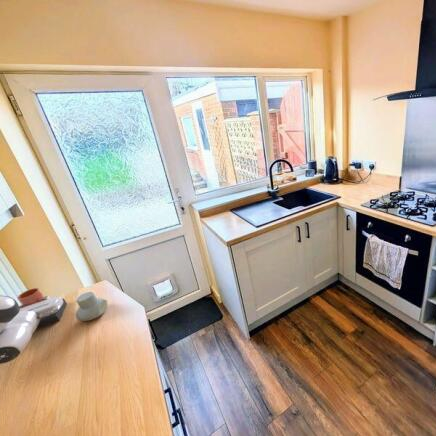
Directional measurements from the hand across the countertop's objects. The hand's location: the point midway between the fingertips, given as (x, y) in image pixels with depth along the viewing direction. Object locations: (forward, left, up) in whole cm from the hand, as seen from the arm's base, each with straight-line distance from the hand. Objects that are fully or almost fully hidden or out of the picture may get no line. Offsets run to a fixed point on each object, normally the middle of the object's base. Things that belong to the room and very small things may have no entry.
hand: (35, 301), depth 103 cm
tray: (0, -1, -9) cm, 9 cm away
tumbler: (0, -1, -6) cm, 6 cm away
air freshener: (+19, -12, -9) cm, 25 cm away
